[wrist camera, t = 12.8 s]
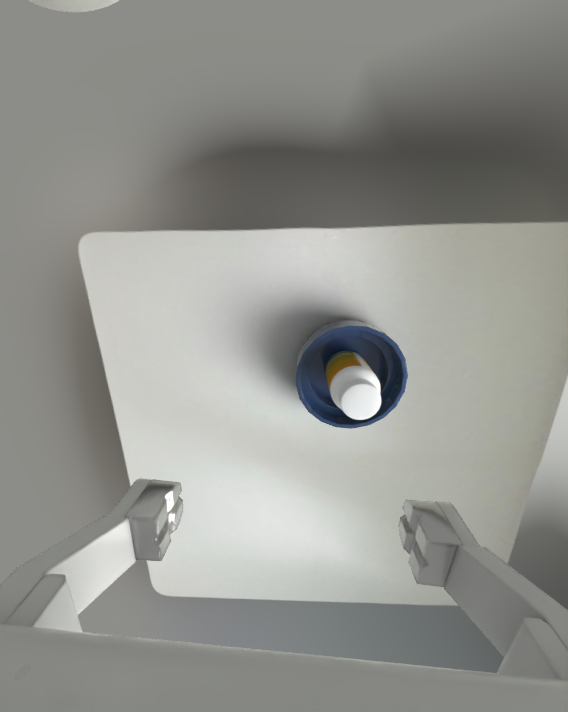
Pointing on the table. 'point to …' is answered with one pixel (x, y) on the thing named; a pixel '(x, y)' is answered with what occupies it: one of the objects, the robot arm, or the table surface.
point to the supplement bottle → (353, 385)
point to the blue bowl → (371, 348)
